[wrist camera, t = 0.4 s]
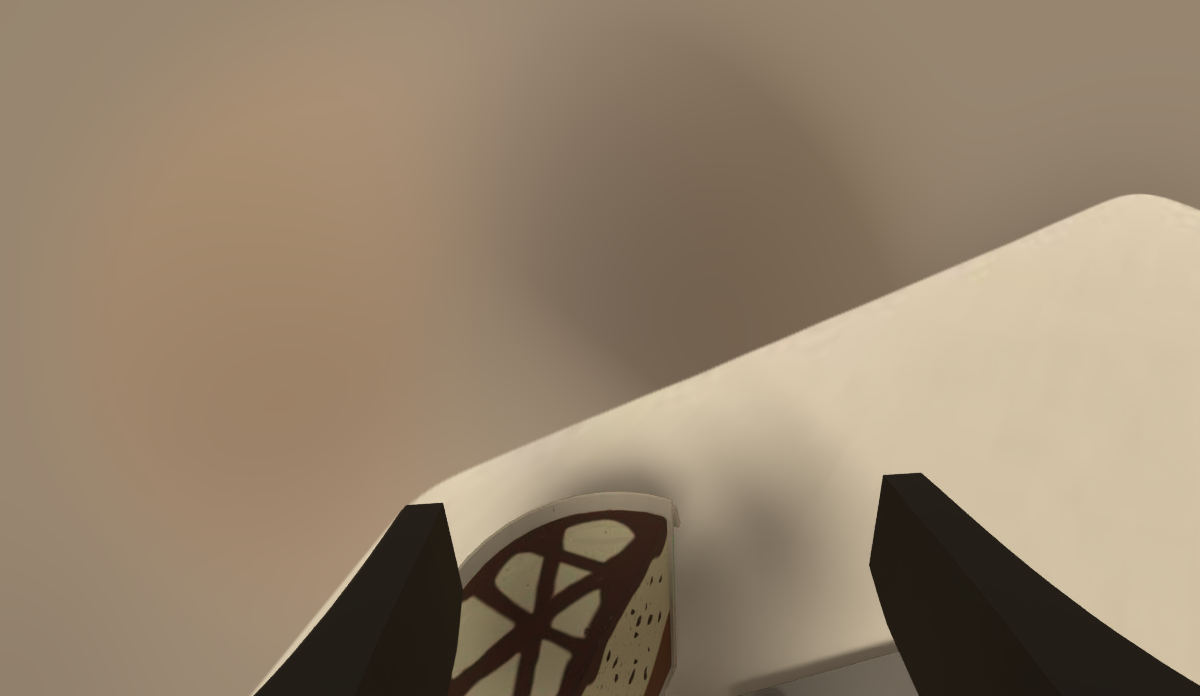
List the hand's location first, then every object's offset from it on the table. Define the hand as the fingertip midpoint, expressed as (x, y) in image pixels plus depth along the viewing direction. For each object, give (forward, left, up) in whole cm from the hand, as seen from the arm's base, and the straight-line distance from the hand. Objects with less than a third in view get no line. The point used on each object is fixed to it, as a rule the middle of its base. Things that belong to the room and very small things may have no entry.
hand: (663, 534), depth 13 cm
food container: (+7, +4, -21) cm, 22 cm away
